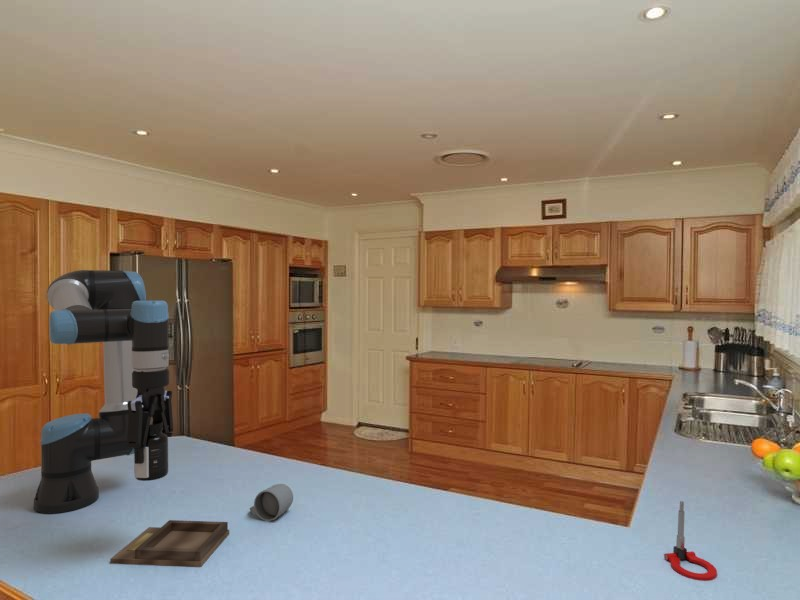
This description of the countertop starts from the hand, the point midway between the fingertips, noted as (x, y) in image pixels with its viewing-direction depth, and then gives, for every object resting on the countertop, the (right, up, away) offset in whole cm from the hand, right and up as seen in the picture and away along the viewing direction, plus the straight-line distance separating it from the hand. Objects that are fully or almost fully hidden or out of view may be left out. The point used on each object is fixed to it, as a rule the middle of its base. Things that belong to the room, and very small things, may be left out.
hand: (151, 471), depth 117 cm
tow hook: (+117, -18, -8) cm, 119 cm away
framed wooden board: (+4, -18, +1) cm, 18 cm away
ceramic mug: (+22, -18, +19) cm, 34 cm away
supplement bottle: (0, -1, 0) cm, 1 cm away
